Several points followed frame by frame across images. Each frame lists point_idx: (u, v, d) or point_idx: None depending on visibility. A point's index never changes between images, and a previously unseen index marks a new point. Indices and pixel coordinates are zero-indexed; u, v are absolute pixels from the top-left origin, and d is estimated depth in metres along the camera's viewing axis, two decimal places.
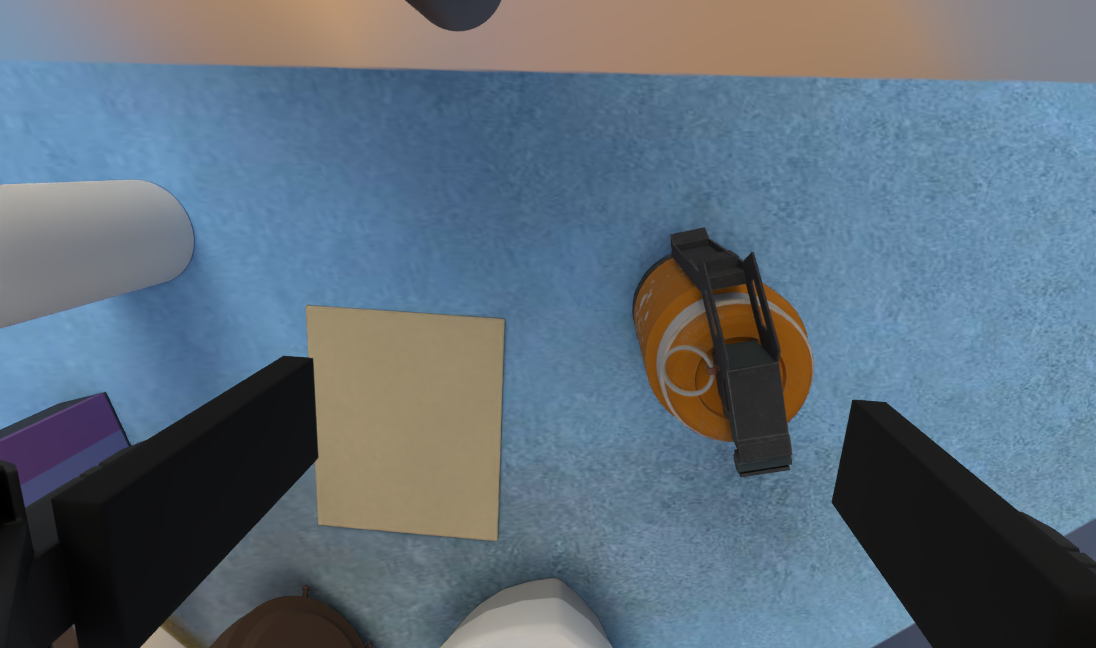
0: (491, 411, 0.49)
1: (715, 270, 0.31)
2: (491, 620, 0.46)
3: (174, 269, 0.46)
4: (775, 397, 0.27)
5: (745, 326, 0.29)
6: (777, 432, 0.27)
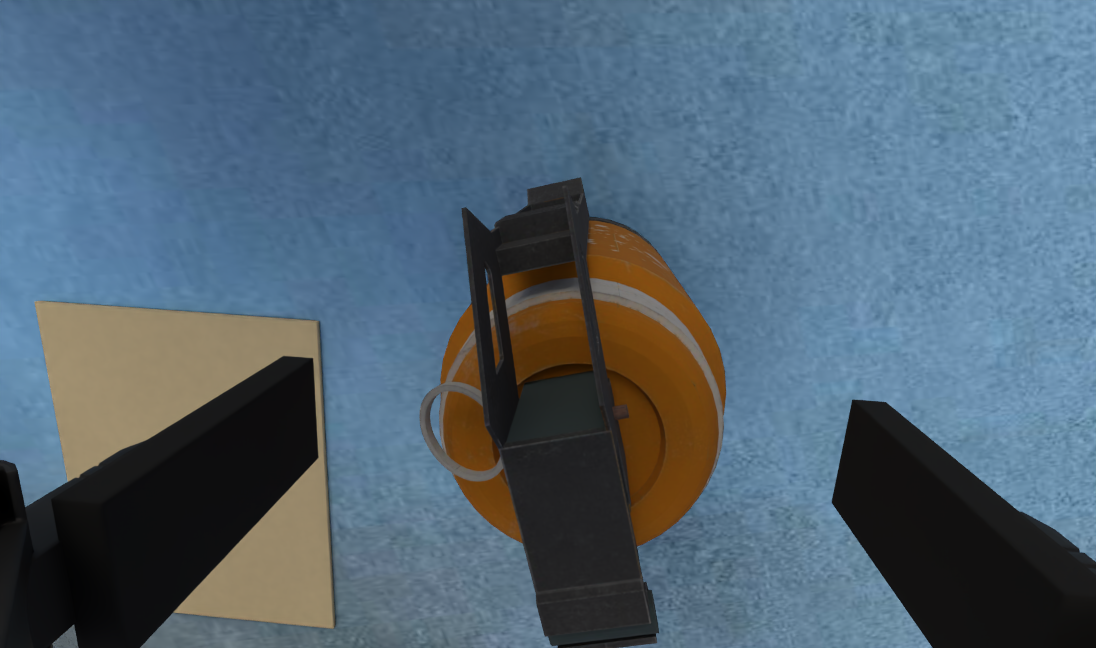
0: None
1: (535, 235, 0.16)
2: None
3: None
4: (608, 505, 0.12)
5: (580, 343, 0.15)
6: (617, 578, 0.12)
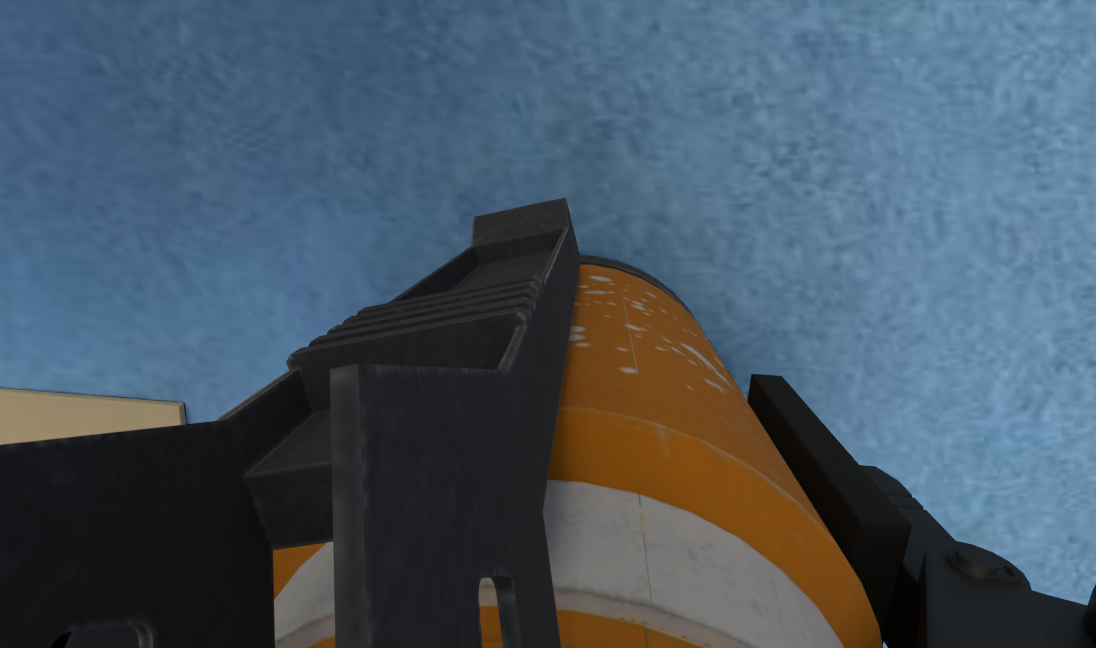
0: None
1: None
2: None
3: None
4: None
5: None
6: None
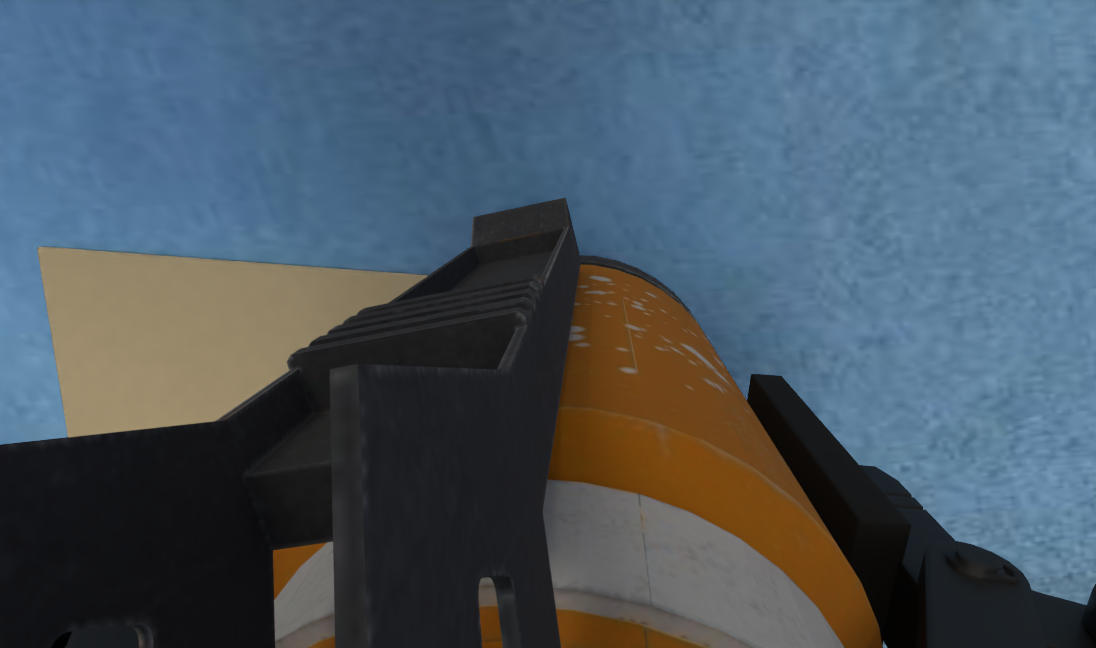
0: None
1: None
2: None
3: None
4: None
5: None
6: None
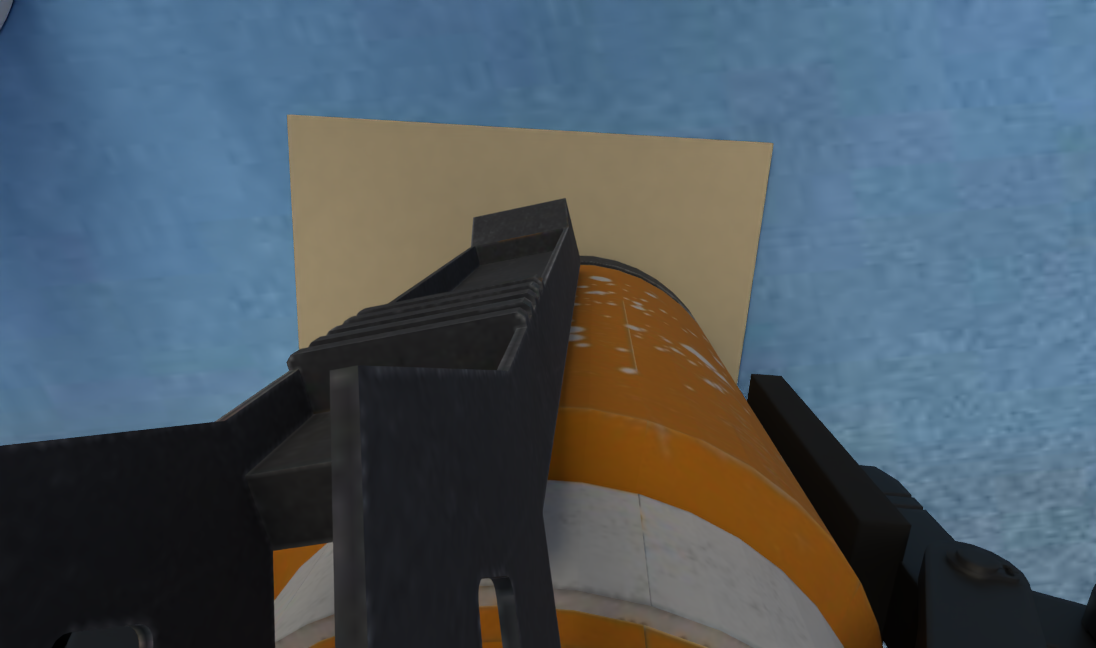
0: None
1: None
2: None
3: None
4: None
5: None
6: None
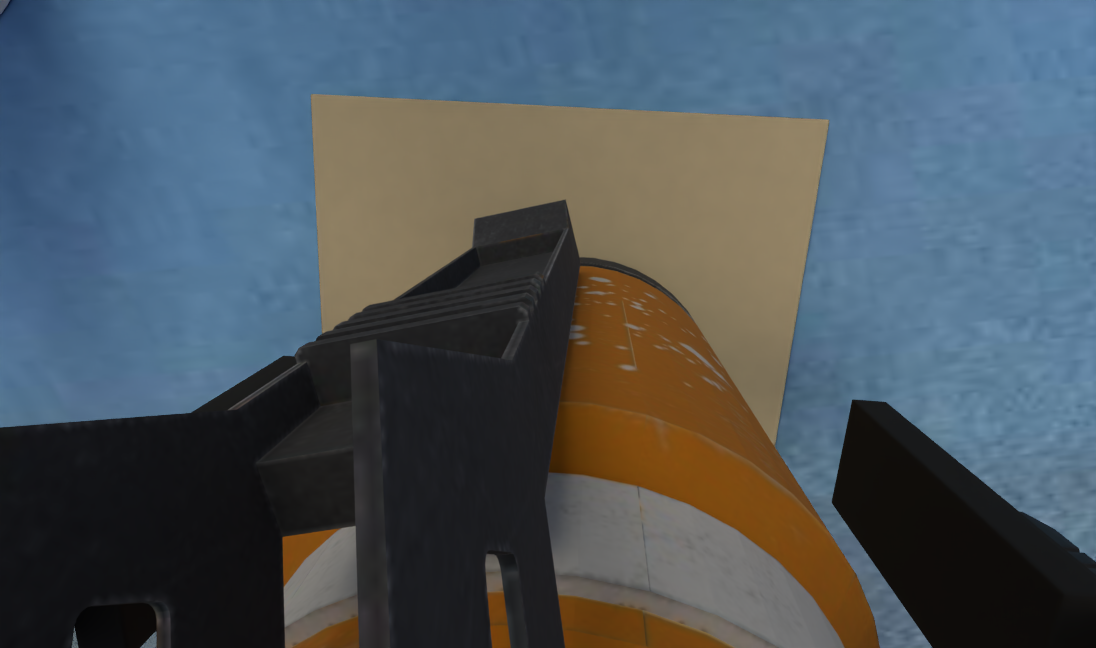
0: (763, 365, 0.20)
1: None
2: None
3: None
4: None
5: None
6: None
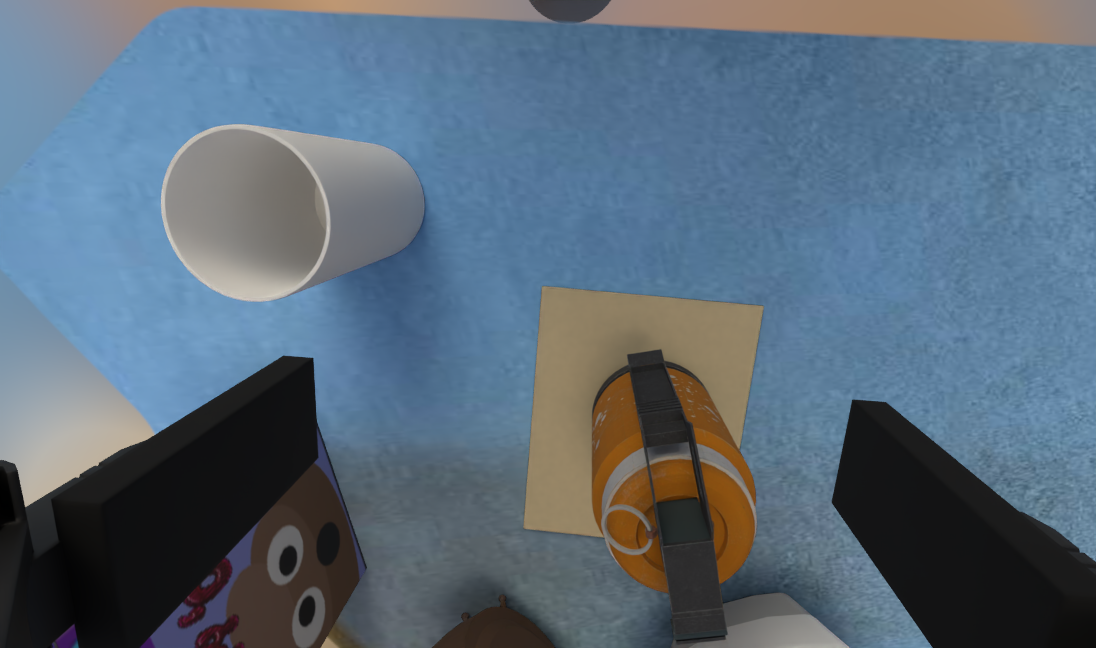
0: (735, 407, 0.45)
1: (660, 422, 0.30)
2: (745, 638, 0.42)
3: (406, 241, 0.42)
4: (710, 573, 0.26)
5: (686, 485, 0.29)
6: (712, 607, 0.27)
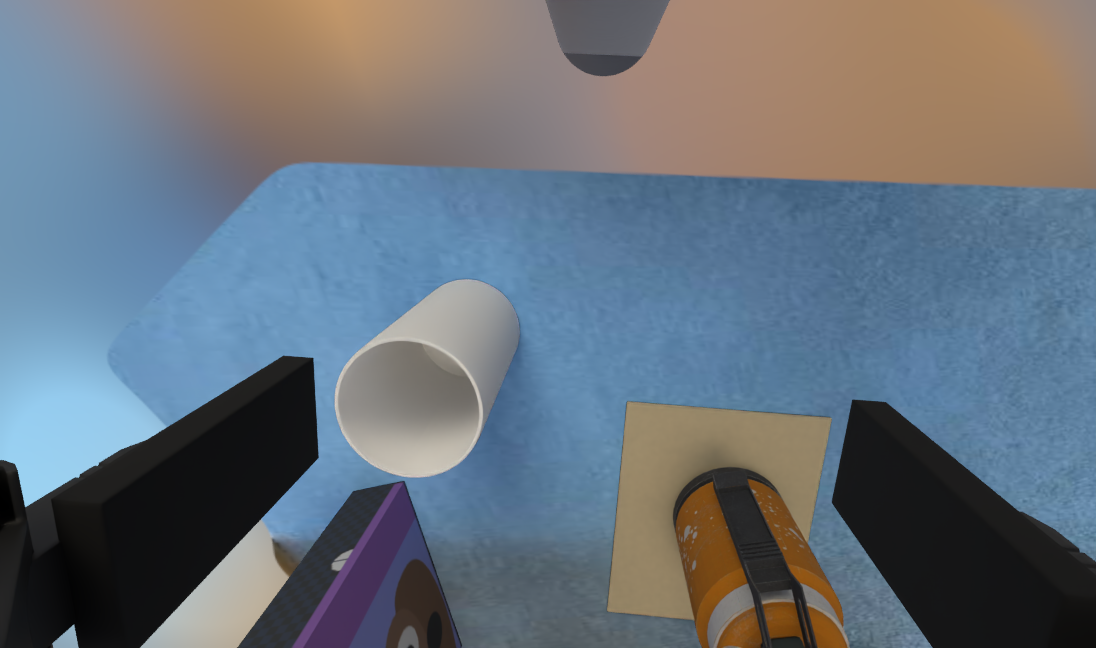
0: (804, 506, 0.49)
1: (763, 567, 0.35)
2: None
3: None
4: None
5: (791, 628, 0.33)
6: None
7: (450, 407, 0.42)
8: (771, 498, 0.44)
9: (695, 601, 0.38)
